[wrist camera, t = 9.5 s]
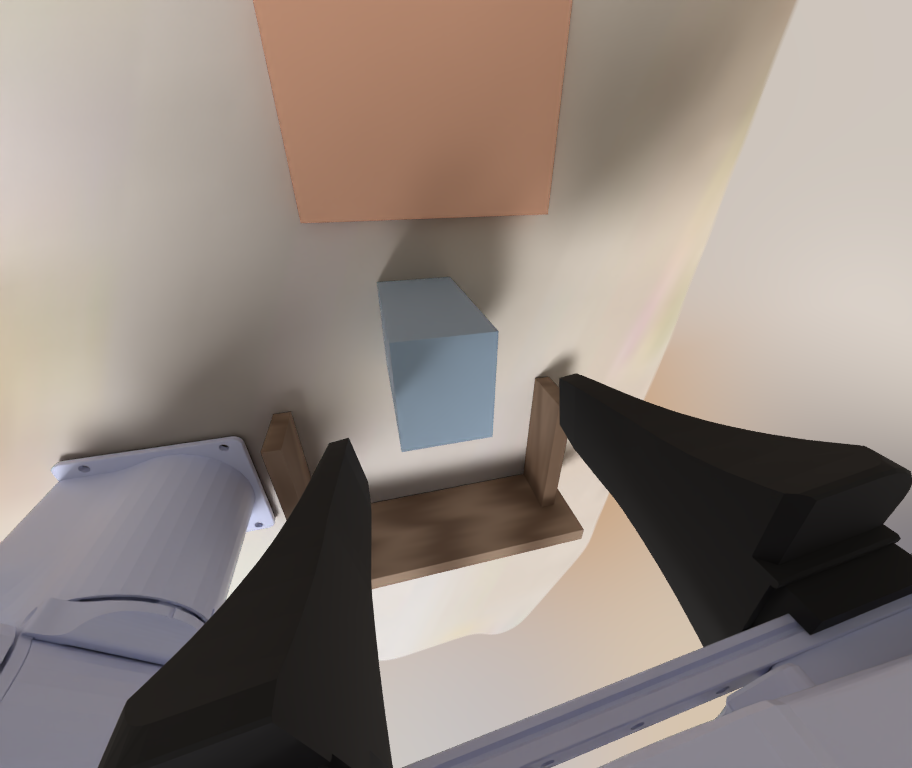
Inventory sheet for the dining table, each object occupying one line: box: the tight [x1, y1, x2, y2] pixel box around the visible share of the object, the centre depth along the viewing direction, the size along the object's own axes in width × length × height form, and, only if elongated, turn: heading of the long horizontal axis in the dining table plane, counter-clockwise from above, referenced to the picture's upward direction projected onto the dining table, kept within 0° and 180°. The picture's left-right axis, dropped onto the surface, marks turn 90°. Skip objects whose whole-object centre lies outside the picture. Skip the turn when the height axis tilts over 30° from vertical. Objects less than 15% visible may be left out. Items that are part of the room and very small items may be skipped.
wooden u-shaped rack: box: [261, 377, 584, 589], centre depth 23 cm, size 20×10×6 cm, turn 91°
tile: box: [253, 0, 572, 223], centre depth 15 cm, size 12×8×1 cm, turn 91°
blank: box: [377, 277, 498, 452], centre depth 17 cm, size 4×5×8 cm
